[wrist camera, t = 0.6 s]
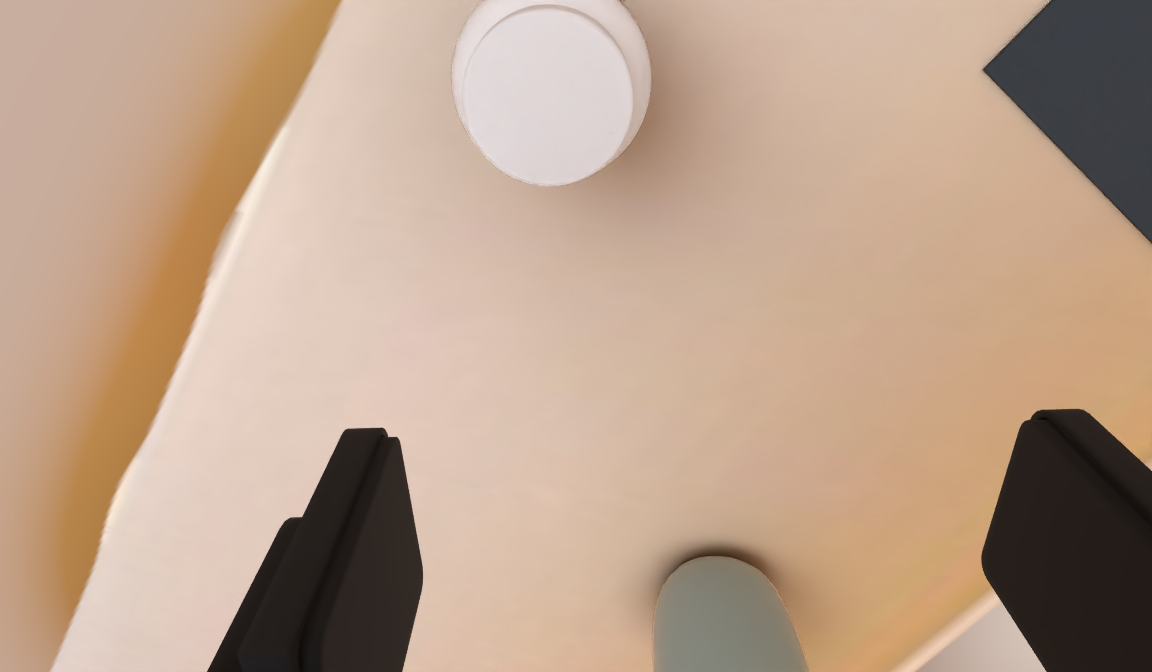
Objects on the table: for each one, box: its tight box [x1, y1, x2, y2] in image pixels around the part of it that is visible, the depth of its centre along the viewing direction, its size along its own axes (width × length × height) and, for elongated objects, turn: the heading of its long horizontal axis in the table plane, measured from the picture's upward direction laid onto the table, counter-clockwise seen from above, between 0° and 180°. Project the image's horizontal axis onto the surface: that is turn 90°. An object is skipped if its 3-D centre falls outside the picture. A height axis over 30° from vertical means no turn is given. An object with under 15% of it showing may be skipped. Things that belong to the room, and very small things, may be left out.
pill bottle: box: [451, 0, 651, 186], centre depth 25 cm, size 6×6×11 cm
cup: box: [652, 556, 811, 672], centre depth 39 cm, size 8×8×10 cm
